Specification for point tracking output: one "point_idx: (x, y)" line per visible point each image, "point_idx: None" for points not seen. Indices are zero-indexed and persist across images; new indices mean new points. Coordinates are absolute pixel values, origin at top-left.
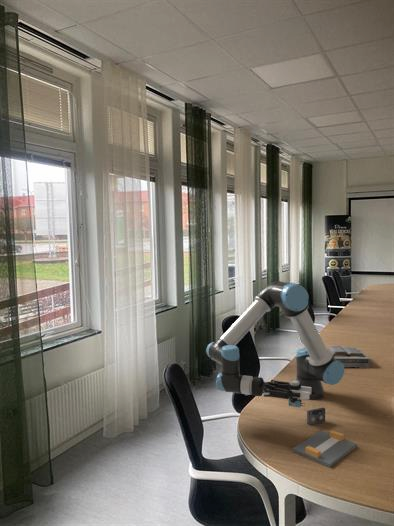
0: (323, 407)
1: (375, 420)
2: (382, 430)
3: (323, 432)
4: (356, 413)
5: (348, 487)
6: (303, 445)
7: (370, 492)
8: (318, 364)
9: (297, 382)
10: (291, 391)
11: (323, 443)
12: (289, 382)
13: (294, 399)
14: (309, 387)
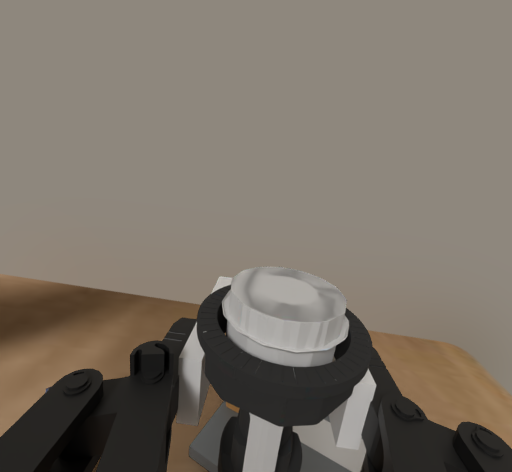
0: (49, 387)
1: (109, 308)
2: (166, 307)
3: (208, 436)
4: (43, 333)
5: (470, 395)
6: None
7: (440, 360)
8: None
9: (302, 276)
10: (397, 396)
11: (306, 439)
12: (244, 366)
13: (298, 455)
14: (227, 282)
